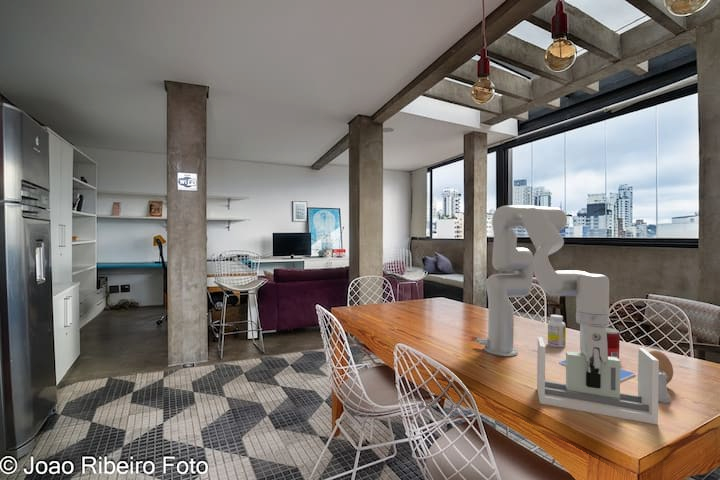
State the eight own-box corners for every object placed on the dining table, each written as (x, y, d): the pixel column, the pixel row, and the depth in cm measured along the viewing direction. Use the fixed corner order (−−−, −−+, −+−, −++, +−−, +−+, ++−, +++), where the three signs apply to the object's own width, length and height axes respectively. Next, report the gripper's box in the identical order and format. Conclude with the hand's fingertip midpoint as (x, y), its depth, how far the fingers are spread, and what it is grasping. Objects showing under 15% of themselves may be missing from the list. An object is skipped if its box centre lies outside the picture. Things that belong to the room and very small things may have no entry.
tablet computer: (557, 364, 125) (557, 361, 125) (576, 359, 131) (576, 355, 131) (618, 385, 108) (618, 380, 108) (636, 377, 114) (636, 373, 114)
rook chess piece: (645, 396, 99) (646, 369, 99) (659, 395, 99) (660, 368, 99) (660, 403, 94) (661, 375, 94) (675, 403, 95) (675, 375, 95)
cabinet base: (539, 403, 94) (540, 346, 94) (537, 388, 103) (537, 336, 103) (657, 424, 84) (658, 360, 84) (643, 406, 93) (643, 348, 93)
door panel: (567, 390, 94) (567, 354, 94) (565, 385, 97) (566, 351, 97) (619, 398, 90) (620, 361, 90) (616, 393, 92) (616, 357, 92)
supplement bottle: (560, 343, 149) (561, 314, 148) (568, 348, 142) (568, 317, 142) (544, 342, 149) (545, 313, 149) (551, 347, 143) (552, 317, 143)
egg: (642, 377, 112) (642, 345, 112) (673, 385, 107) (673, 350, 107) (640, 385, 107) (640, 350, 106) (672, 392, 101) (673, 356, 101)
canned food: (620, 357, 131) (620, 329, 131) (617, 363, 125) (618, 333, 125) (596, 352, 136) (596, 325, 136) (593, 357, 131) (593, 329, 130)
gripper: (617, 326, 84) (616, 400, 84) (601, 313, 99) (600, 376, 99) (582, 323, 87) (581, 394, 87) (571, 311, 102) (570, 371, 102)
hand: (591, 383), depth 93 cm, fingers closed on door panel, 3 cm apart
